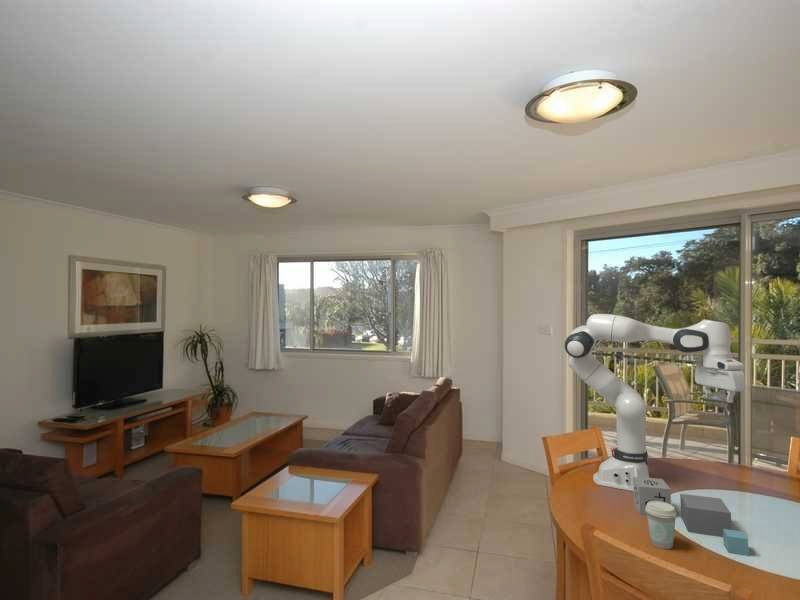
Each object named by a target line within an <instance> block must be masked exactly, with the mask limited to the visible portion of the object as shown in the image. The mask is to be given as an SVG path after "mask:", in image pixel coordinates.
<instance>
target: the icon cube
mask: <svg viewBox="0 0 800 600" xmlns="http://www.w3.org/2000/svg"><path fill="white" fill-rule="evenodd" d="M632 492H633V505H634V506H635V508H636V510H637V511H638V513H639V515H640V516H647V512H646V510H645V508H646V505H647V503H648V502H650V501H661V502H665V503H668V504H670V505H672V497H671V496H672V495H671V494H672V493H671V488H670V487H669V486H668V484H667V483H666V482H665V480H664V479H663V478H653V477H650V478H643V477H633V491H632Z"/></svg>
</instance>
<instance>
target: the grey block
mask: <svg viewBox="0 0 800 600" xmlns="http://www.w3.org/2000/svg"><path fill="white" fill-rule="evenodd" d="M679 496H680V499H679V500H680V517H681V521H682V522H683V524H684V527H685V528H686V531H687V532H688V533H692V534H699V535H705V536H706V535H707V536H713V537H719V538H720V537H721V538H723V529H728V530H733V528H732V512H731V511H730V510H729V508H728V506H727V505H726V504H725V502H724V501H723V500H722V498H720V497H711V496H702V495H696V494H694V495H693V494H687V493H679Z"/></svg>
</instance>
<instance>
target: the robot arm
mask: <svg viewBox="0 0 800 600" xmlns="http://www.w3.org/2000/svg"><path fill="white" fill-rule="evenodd" d="M599 340H605V341H610V342H617V343H634V342H635V343H636V342H641V341H649V342H650V341H652V342H659V343H663V344H670V345H673V346H674V347H675V349H677V350H678V351H679V352H682V353H685V354H692V353H695V352H702V359H701V360H698V361H697V362H696V366H695V370H694V382H695V384H697V385H700V386H702V389H703V391H704V393H705V398H708V399H713V398H714V393H713V392H712V391H711V388H716V389H720V390H725V391H726V393H727V396H725V397H724V400H725V403H729V404H730V403H731V404H733V403H734V397H735V395H736V392H737V393H738V392H743V391H745V389H746V379H745V377H746V376H745V373H744V371H743V370H744V369H745V365H744V363H742V362H740V361H739V360H737V359H735V358H733V355H732V352H731V344H732V338H731V331H730V326H729V324H728V323H727V322H725V321H724V320H721V319H713V318H703V319H702V320H701V321H699V322H698V323H695V324H692V325H690V326H683V327H679V328H673V327H672V328H671V327H663V326H657V325H653V324H652V325H651V324H647V323H644V322H642V321H640V320H636V319H634V318H631V317H628V316H625V315H619V314H610V313H593V314H591V315H590V316H589V317H588V318H587V320H586V323H584V324H580V325H578V326H576V327H575V328H574V329H573V330H571V332H570V333H569V335H568V336H567V338H566V339H565V341H564V350H565V352H566V354H567V355H568V356H569V358H568V366H569V368H570V369H571V370H572V371H573V372H574V374H575V375H576V376H577V377H579V379H581V381H583V382H584V383H585V384H586V385H587V386H588V387H589V388H591V389H592V390H593V391H594V392H595V393H597V394H598V396H601V397H602V398H603V399H605V400H606V401H607V402H609V403H610V404H611V405H613V406H614V408H615V411H616V413H615V417H616V423H615V424H616V425H615V426H616V429H615V431H616V447H615V446H611V447H610V452H611V455H612V456H611V457H609V458H607V459H606V460H604V461H602V462H601V463H600V464H599V467H598V471H597V472H595V473H594V474H593V476H592V477H593V478H592V479H593V482H594V483H595V484H596V485H597V486H603V487H608V488H614V489H620V490H624V491H629V492H634V491H633V477H643V478H651V477H650V473H649V468H648V466H649V464H648V463H649V453H648V450H647V441H646V439H647V437H646V427H647V407H646V403H645V400H644V399H643V397H642V396H641V395H640V393H639V392H638V391H637V390H635V389H634V388H632V386H630V385H629V384H628V383H626V382H625V381H624V380H622V378H620V377H619V376H618V375H616V374H615V373H614V372H612V370H611V369H609V368H608V367H606V366H605V365H604V364H603V363H602V362H601V361H599V360H598V359H597V358H596V357H595V356H594V355H593V350H594V349H595V346H596V345H597V343H598V341H599Z"/></svg>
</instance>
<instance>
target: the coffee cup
mask: <svg viewBox="0 0 800 600" xmlns="http://www.w3.org/2000/svg"><path fill="white" fill-rule="evenodd" d="M645 510H646V512H647V515H646V518H647V523H648V530H649V536H650V543H651V544H652V545H653V546H655V548H659V549H662V550H671V549H673V548H674V540H675V528H676V517H677V515H678V514H677V511H676V509H675V507H674V506H673V505H672V504H671V505H670V504H668V503H665V502H661V501H650V502H648V503H647V505H646V508H645Z"/></svg>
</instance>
